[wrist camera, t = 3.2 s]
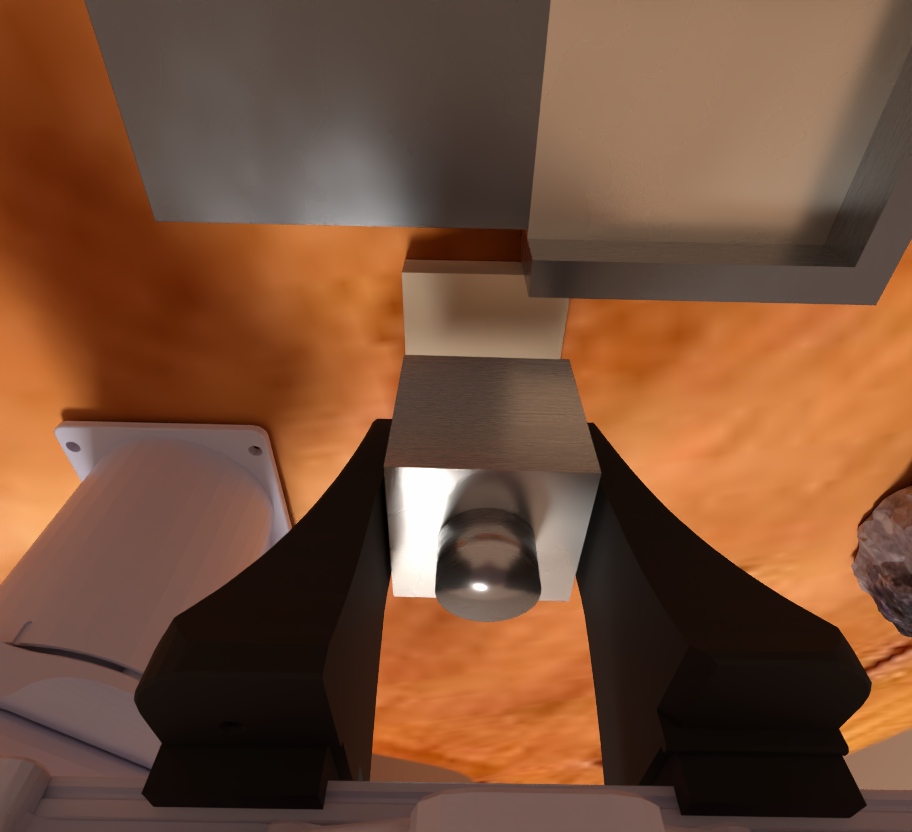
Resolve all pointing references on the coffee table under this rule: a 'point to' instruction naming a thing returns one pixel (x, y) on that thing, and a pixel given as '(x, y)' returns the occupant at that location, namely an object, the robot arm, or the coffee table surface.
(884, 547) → the black rock
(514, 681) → the coffee table surface
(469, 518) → the block
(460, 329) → the pad
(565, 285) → the flange rail
